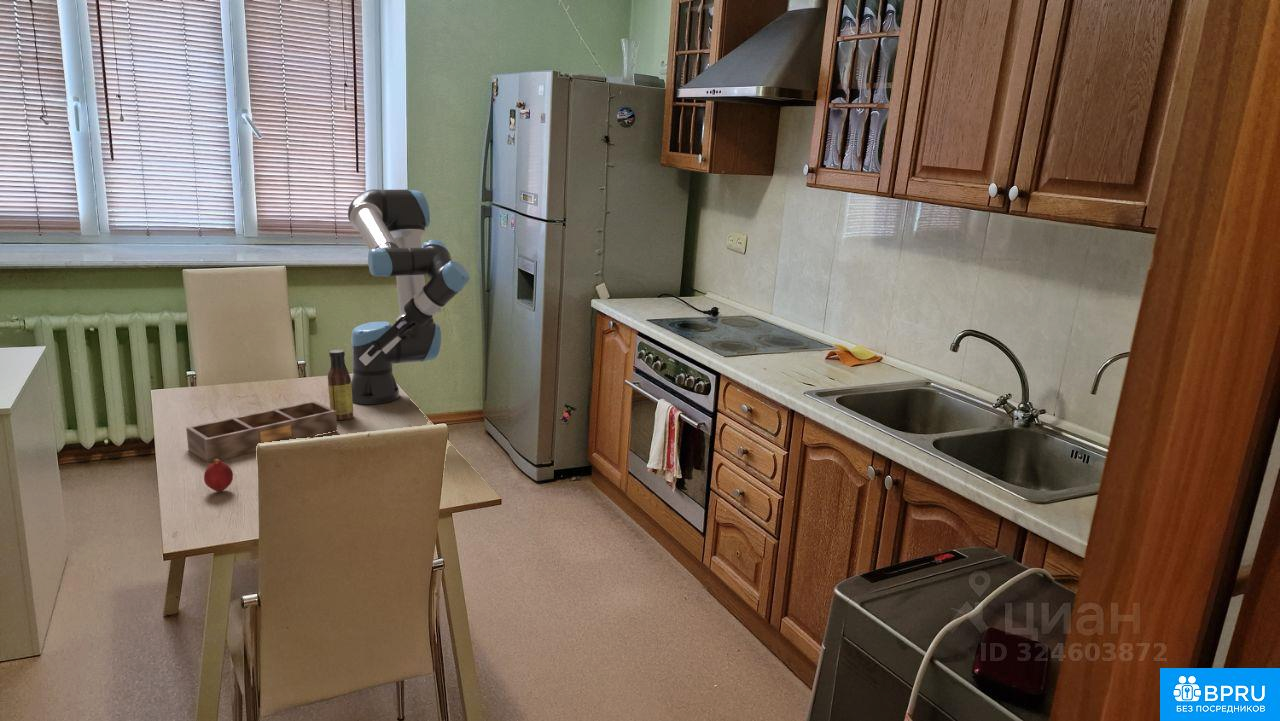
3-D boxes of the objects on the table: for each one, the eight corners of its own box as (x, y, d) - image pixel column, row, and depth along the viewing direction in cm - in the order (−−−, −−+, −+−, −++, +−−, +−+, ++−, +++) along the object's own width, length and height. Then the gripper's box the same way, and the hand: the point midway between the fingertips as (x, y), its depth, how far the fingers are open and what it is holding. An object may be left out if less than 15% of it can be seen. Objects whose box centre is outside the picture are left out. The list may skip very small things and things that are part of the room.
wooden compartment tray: (315, 421, 234) (314, 400, 233) (337, 432, 226) (336, 411, 225) (188, 449, 209) (186, 427, 208) (208, 463, 201) (206, 440, 200)
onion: (212, 486, 189) (209, 453, 187) (238, 486, 189) (235, 454, 187) (201, 497, 183) (197, 463, 181) (228, 497, 184) (225, 463, 181)
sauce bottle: (358, 416, 240) (355, 350, 235) (344, 422, 234) (340, 354, 229) (339, 412, 242) (336, 347, 237) (325, 419, 236) (321, 351, 231)
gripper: (416, 326, 215) (363, 377, 220) (447, 308, 239) (399, 355, 244) (395, 304, 214) (343, 356, 220) (429, 289, 238) (381, 336, 244)
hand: (373, 356), depth 232 cm, fingers open, 13 cm apart
